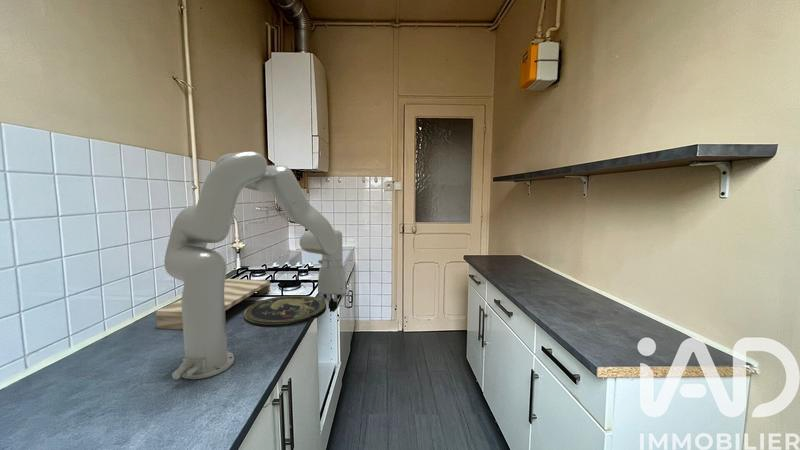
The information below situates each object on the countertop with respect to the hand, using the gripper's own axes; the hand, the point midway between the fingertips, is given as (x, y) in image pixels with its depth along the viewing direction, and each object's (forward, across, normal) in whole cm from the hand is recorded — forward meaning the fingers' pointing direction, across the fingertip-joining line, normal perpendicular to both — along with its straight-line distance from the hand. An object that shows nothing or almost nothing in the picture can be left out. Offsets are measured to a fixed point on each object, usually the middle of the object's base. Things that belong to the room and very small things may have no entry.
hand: (333, 310), depth 124 cm
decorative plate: (+2, -18, 0) cm, 18 cm away
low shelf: (+1, -44, 0) cm, 44 cm away
